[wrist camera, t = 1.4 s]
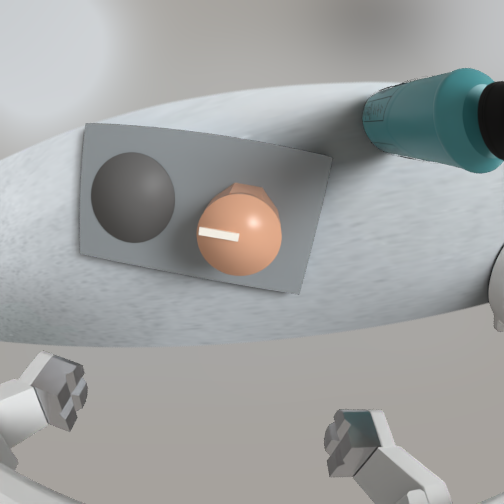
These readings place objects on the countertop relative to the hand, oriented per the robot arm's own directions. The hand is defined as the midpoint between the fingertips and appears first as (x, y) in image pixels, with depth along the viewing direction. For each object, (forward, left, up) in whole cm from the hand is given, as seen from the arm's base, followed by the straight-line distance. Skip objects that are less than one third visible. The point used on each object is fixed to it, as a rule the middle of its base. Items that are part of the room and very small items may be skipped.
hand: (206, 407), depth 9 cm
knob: (0, 0, -22) cm, 22 cm away
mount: (+5, 0, -24) cm, 25 cm away
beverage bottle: (-12, -12, -25) cm, 30 cm away
